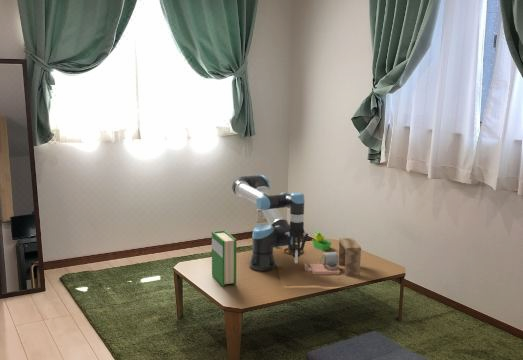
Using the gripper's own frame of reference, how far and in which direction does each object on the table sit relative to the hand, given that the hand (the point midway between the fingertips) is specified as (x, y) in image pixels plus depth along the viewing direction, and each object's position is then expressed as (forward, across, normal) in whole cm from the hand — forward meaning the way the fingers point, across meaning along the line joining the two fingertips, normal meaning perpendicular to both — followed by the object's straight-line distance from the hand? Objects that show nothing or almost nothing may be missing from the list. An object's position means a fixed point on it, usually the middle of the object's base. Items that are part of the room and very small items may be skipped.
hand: (295, 262), depth 286 cm
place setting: (+5, +1, +36) cm, 36 cm away
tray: (+5, +16, 0) cm, 17 cm away
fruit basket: (+5, +21, +38) cm, 44 cm away
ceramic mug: (+3, +16, +2) cm, 17 cm away
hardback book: (+5, -40, -13) cm, 42 cm away
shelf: (+5, +30, 0) cm, 30 cm away
